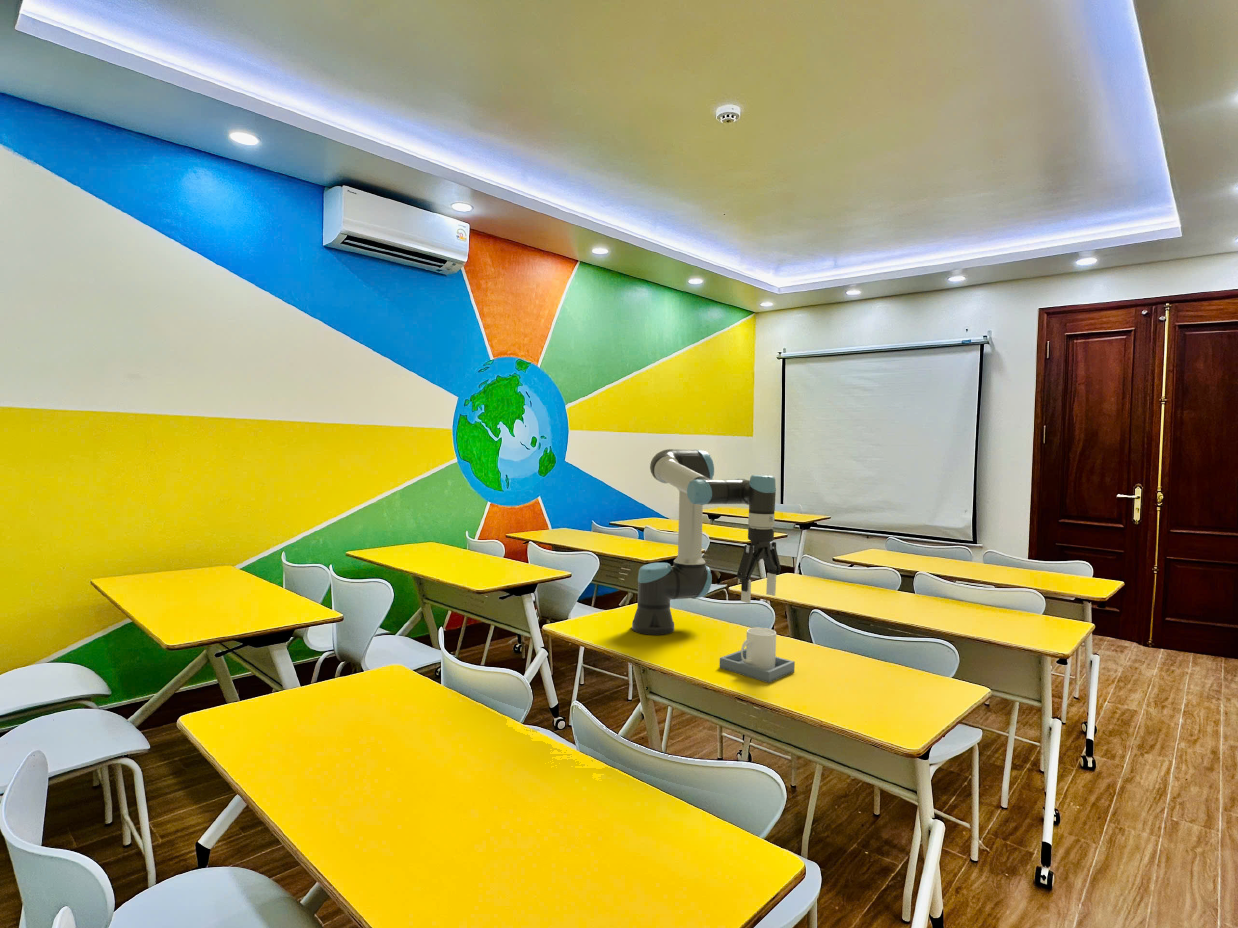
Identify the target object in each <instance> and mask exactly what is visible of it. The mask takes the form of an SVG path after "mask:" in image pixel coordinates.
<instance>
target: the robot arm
mask: <svg viewBox="0 0 1238 928" xmlns="http://www.w3.org/2000/svg"><path fill="white" fill-rule="evenodd" d="M649 464H650V465H649V470H650V473H651V476H652V477H653V478H654V479H655V480H656V481H658V482H660V483H662V484H668V485H672V486H673V487H675V488H676V489H677V490H678V491H679V497H678V498H679V499H678V532H677V533H678V534H677V535H678V537H677V540H678V541H677V544H678V545H677V557H676V558H675V559H674V560H673V566H672V565H671V564H670V563H668V562H651V563H648V564H644V565H642V566H640V568H639V569H638V574H637V575H638V576H637V607H636V611H635V613H634V616H633V619H632V624H631V629H632V630H633V631H634V632H635V633H639V634H643V635H651V636H661V635H664V636H665V635H669V634H671V633H673V632H675V622H674V620H673V615H672V611H671V600H683V599H685V600H687V599H691V600H692V599H694V600H695V599H697V598H698V599H700V598H703V597H705V596H707V594H708V593H709V592H710V589H711V587H712V583H713V582H712V580H713V579H712V573H711V572H712V571H711V569H710V567H709V566H707V565H706V563H707V562H706V561H705V559H704V558H703V557H702V553H703V551H702V549H703V547H702V546H703V544H702V543H703V513H704V512H703V511H704V510H703V508H704V507H703V506H705V505H748V517H747V518H748V521H747V523H748V524H747V526H748V528H747V539H748V540H749V541H750V545H749V544H747V545H746V544H745V545H744V546H743V554H742V557H741V560H740V564H739V567H738V569H737V574H736V578H737V579H739V580H741V586H740V587H741V589H740V590H741V596H740V602H743V603H747V604H750V603H751V600H752V599H751V595H752V594H751V593H752V580H751V577H752V574H753V572H754V571H755V568H756V565H757V564H758V563H759V562H760V560H763V563H764V564H765V567H766V569H767V571H768V572H767V573H766V589H765V590H766V595H768V596H771V597H775V596H776V589H777V585H776V584H777V575H780V573H781V569H782V567H781V564H780V563H781V561H780V559H779V555H778V550H777V542H776V541H774V538H775V537H774V536H775V529H774V527H775V520H776V518H775V511H776V497H777V496H776V495H777V494H776V492H777V487H776V485H777V484H776V477H774V475H769V474H767V475H765V474H752V475H750V478H749V479H745V478H735V479H714V475H715V466H714V465H715V464H714V460H713V458H712V457H711V454H710V453H709V452H708V451H706V450H702V449H676V448H675V449H673V448H669V449H663V450H661V451H659V452H658V453H656V454H655V455H654V456H653V457H652V459H651V461H650V463H649Z"/></svg>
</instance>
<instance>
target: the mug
mask: <svg viewBox="0 0 1238 928" xmlns="http://www.w3.org/2000/svg"><path fill="white" fill-rule="evenodd" d="M743 649H746V659H744V658H743ZM740 650H741V658H742V661H743V662H744V663H745V664H747V665H750V666H754V667H757V668H761V669H764V670H768V671H769V670H771V669H773V668H775V658H776V657H777V656H776V654H777V653H776V651H777V631H776V630H775V629H772V628H765V627H750V628H748V629H747V630H746V639H745V640H744V641H743V643H742V645H741V649H740Z"/></svg>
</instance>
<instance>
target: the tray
mask: <svg viewBox="0 0 1238 928" xmlns="http://www.w3.org/2000/svg"><path fill="white" fill-rule="evenodd" d="M743 658H744V659H746V648H744V649H743ZM795 663H796V662H795V661H794V660H790V659H786V658H783V657H779V656H776V658H775V668H773V669H771V670H769V671H768V670H764V669H761V668H757V667H754V666H750V665H747V664H745V663H744V662H743V661H742V658H741V649H740V650H738V651H735V652H732V653H729V654H727V655H723V656H721V657H719V668H720V669H722V670H725V671H729V672H731V673H735V674H738V675H743V676H745V677H748V678H752V679H755V680H759V681H761V682H765V683H768V684H770V683H772V682H774V681H777V680H779V679H781V678H783V677H785V676H787V675H790V674H792V673H794V672H795V668H796V667H795V665H796V664H795Z"/></svg>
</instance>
